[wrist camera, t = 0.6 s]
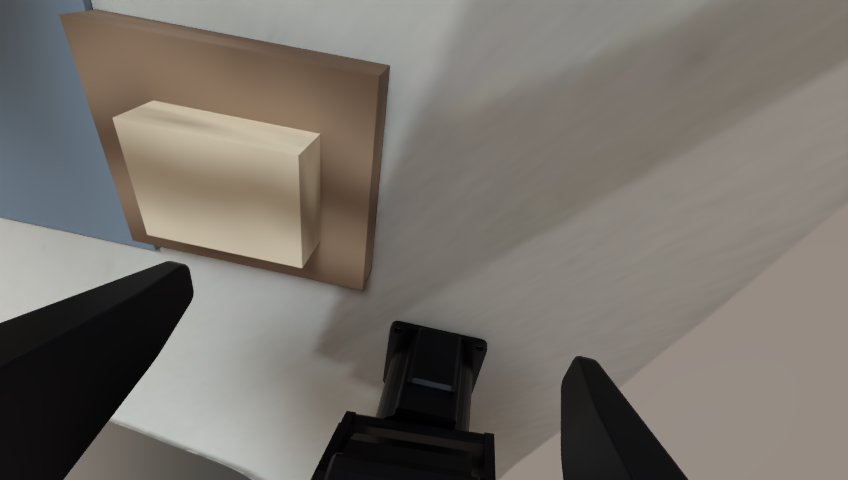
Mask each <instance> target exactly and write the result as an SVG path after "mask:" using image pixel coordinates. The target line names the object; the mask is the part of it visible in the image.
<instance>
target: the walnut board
mask: <svg viewBox="0 0 848 480" xmlns="http://www.w3.org/2000/svg"><path fill="white" fill-rule="evenodd" d="M59 16H60V19H61V22H62V25H63V28H64V31H65V35H66V38H67V41H68V44H69V47H70V50H71V53H72V56H73V59H74V62H75V65H76V68H77V71H78V74H79V77H80V80H81V84H82V87H83V90H84V93H85V96H86V99H87V102H88V105H89V108H90V111H91V114H92V117H93V120H94V123H95V126H96V129H97V132H98V136H99V139H100V142H101V145H102V148H103V151H104V154H105V157H106V160H107V163H108V166H109V169H110V172H111V175H112V178H113V181H114V185H115V188H116V191H117V194H118V197H119V200H120V203H121V206H122V209H123V212H124V215H125V218H126V221H127V224H128V227H129V230H130V234H131V237H132V240H133V241H137V242H141V243H146V244H151V245H155V246H160V247H164V248H169V249H174V250H178V251H183V252H187V253H192V254H197V255H201V256H206V257H211V258H215V259H220V260H224V261H229V262H234V263H238V264H243V265H247V266H252V267H257V268H261V269H266V270H271V271H275V272H280V273H284V274H289V275H294V276H298V277H303V278H307V279H312V280H317V281H321V282H326V283H330V284H335V285H340V286H344V287H349V288H354V289H358V290H363V288H364V285H365V283H366V281H367V278H368V276H369V273H370V271H371V267H372V256H373V245H374V234H375V223H376V212H377V201H378V190H379V179H380V168H381V157H382V146H383V135H384V124H385V113H386V102H387V91H388V80H389V68H390V66H389V65H384V64H379V63H374V62H369V61H363V60H358V59H353V58H348V57H342V56H337V55H332V54H327V53H322V52H316V51H311V50H306V49H301V48H295V47H290V46H285V45H280V44H275V43H269V42H264V41H259V40H254V39H248V38H243V37H238V36H233V35H228V34H222V33H217V32H212V31H207V30H201V29H196V28H191V27H186V26H180V25H175V24H170V23H165V22H160V21H154V20H149V19H144V18H139V17H133V16H128V15H123V14H118V13H113V12H107V11H102V10H97V9H95V10H88V11H81V12H74V13H66V14H59ZM153 100H154V101H159V102H164V103H169V104H174V105H179V106H184V107H189V108H194V109H199V110H204V111H209V112H214V113H219V114H224V115H229V116H234V117H239V118H244V119H249V120H254V121H259V122H264V123H269V124H274V125H279V126H284V127H289V128H294V129H299V130H304V131H309V132H314V133H319V134H320V241H319V243H318V244H317V246H316V248H315V249H314V251H313V252H312V254H311V255H310V257H309V259H308V260H307V262H306V263H305V265H304V266H303V268H298V267H294V266H289V265H284V264H280V263H275V262H271V261H266V260H261V259H257V258H252V257H247V256H243V255H238V254H233V253H229V252H224V251H220V250H215V249H210V248H206V247H201V246H196V245H192V244H187V243H182V242H178V241H173V240H169V239H164V238H159V237H155V236H150V235H147V232H146V229H145V226H144V222H143V219H142V216H141V212H140V209H139V205H138V202H137V199H136V195H135V192H134V189H133V185H132V182H131V179H130V175H129V172H128V169H127V165H126V162H125V159H124V155H123V152H122V149H121V145H120V142H119V138H118V135H117V132H116V128H115V125H114V122H113V117H115V116H118V115H120V114H122V113H125V112H127V111H129V110H132V109H134V108H137V107H139V106H141V105H144V104H146V103H148V102H151V101H153Z"/></svg>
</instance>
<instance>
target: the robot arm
mask: <svg viewBox="0 0 848 480" xmlns="http://www.w3.org/2000/svg"><path fill="white" fill-rule="evenodd" d="M193 293H194V291H193V285H192V280H191V275H190V270H189V268H188V266H187V265H185V264H182V263H177V262H173V261H167V262H164V263H161V264H159V265H156V266H153V267H150V268H148V269H145V270H142V271H140V272H137V273H134V274H132V275H129V276H126V277H123V278H121V279H118V280H115V281H113V282H110V283H107V284H105V285H102V286H99V287H96V288H94V289H91V290H88V291H86V292H83V293H80V294H78V295H75V296H72V297H69V298H67V299H64V300H61V301H59V302H56V303H53V304H51V305H48V306H45V307H42V308H40V309H37V310H34V311H32V312H29V313H26V314H23V315H21V316H18V317H15V318H13V319H10V320H7V321H5V322H2V323H0V480H63V479H64V478H65V477H66V476H67V474H68V473H69V472H70V470H71V469H72V468H73V466H74V465H75V464H76V462H77V461H78V460H79V459H80V457H81V456H82V455H83V453H84V452H85V451H86V449H87V448H88V447H89V445H90V444H91V443H92V442H93V440H94V439H95V438H96V436H97V435H98V434H99V432H100V431H101V430H102V428H103V427H104V426H105V424H106V423H107V422H108V421H109V419H110V418H111V417H112V415H113V414H114V413H115V411H116V410H117V409H118V408H119V406H120V405H121V404H122V402H123V401H124V400H125V398H126V397H127V396H128V394H129V393H130V392H131V391H132V389H133V388H134V387H135V385H136V384H137V383H138V381H139V380H140V379H141V378H142V376H143V375H144V374H145V372H146V371H147V370H148V368H149V367H150V366H151V364H152V363H153V362H154V360H155V359H156V357H157V356H158V354H159V353H160V351H161V350H162V348H163V347H164V345H165V344H166V342H167V340H168V339H169V337H170V335H171V334H172V332H173V330H174V329H175V327H176V326H177V324H178V322H179V321H180V319H181V317H182V316H183V314H184V312H185V311H186V309H187V308H188V306H189V304H190V303H191V301H192V298H193ZM397 328H399V329H397ZM478 346H481V347H478ZM486 352H487V342H486V341H485V340H482V339H479V338H474V337H469V336H465V335H460V334H456V333H451V332H447V331H442V330H438V329H433V328H428V327H424V326H419V325H415V324H410V323H406V322H401V321H395V322H393V323H392V325H391V328H390V335H389V342H388V349H387V356H386V363H385V370H384V378H383V382H384V383H385V385H384V388H383V392H382V396H381V399H380V403H379V407H378V410H377V414H376V417H371V416H365V415H358V414H356V412H350V411H346V413H345V415H344V417H343V419H342V421H341V423H339V424H338V426H337V428H336V430H335V432H334V434H333V436H332V438H331V440H330V442H329V444H328V446H327V448H326V450H325V452H324V454H323V456H322V458H321V460H320V462H319V464H318V466H317V468H316V470H315V472H314V474H313V476H312V478H311V480H495V449H494V434H492V433H484V434H481V433H475V432H469V421H470V407H471V394H472V392H473V389H474V386H475V383H476V380H477V377H478V375H479V372H480V369H481V366H482V363H483V360H484V358H485V355H486ZM561 460H562V470H563V480H688V478H687V477H686V476H685V475H684V474H683V472H682V471H681V469H680V468H679V467H678V465H677V464H676V463H675V462H674V460H673V459H672V458H671V456H670V455H669V454H668V453H667V451H666V450H665V449H664V448H663V446H662V445H661V444H660V442H659V441H658V440H657V438H656V437H655V436H654V434H653V433H652V432H651V431H650V429H649V428H648V427H647V425H646V424H645V423H644V421H643V420H642V419H641V418H640V416H639V415H638V414H637V412H636V411H635V410H634V409H633V407H632V406H631V405H630V403H629V402H628V401H627V399H626V398H625V397H624V396H623V394H622V393H621V392H620V390H619V389H618V388H617V386H616V385H615V384H614V383H613V381H612V380H611V379H610V377H609V376H608V375H607V374H606V372H605V371H604V370H603V368H602V367H601V366H600V364H599V363H598V362H597V361H596V360H594V359H591V358H586V357H582V356H577V357H575V358H574V360H573V361H572V363H571V365H570V367H569V369H568V371H567V372H566V374H565V376H564V378H563V381H562V385H561Z"/></svg>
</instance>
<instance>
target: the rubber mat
mask: <svg viewBox="0 0 848 480" xmlns="http://www.w3.org/2000/svg"><path fill="white" fill-rule="evenodd" d="M88 10H92V6H91V2H90V0H0V217H2V218H7V219H11V220H16V221H21V222H25V223H30V224H34V225H39V226H44V227H48V228H53V229H57V230H62V231H67V232H71V233H76V234H80V235H85V236H90V237H94V238H99V239H103V240H108V241H113V242H117V243H122V244H126V245H131V246H136V247H140V248H145V249H149V250H154V251H156V250H157V249H158V248H160V246H155V245H151V244H146V243H141V242H137V241H133V240H132V237H131V234H130V230H129V227H128V224H127V221H126V218H125V215H124V212H123V209H122V206H121V203H120V200H119V197H118V194H117V191H116V188H115V185H114V181H113V178H112V175H111V172H110V169H109V166H108V163H107V160H106V157H105V154H104V151H103V148H102V145H101V142H100V139H99V136H98V132H97V129H96V126H95V123H94V120H93V117H92V114H91V111H90V108H89V105H88V102H87V99H86V96H85V93H84V90H83V87H82V84H81V80H80V77H79V74H78V71H77V68H76V65H75V62H74V59H73V56H72V53H71V50H70V47H69V44H68V41H67V38H66V35H65V31H64V28H63V25H62V22H61V19H60V16H59V14H66V13H74V12H81V11H88Z"/></svg>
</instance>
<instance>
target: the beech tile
mask: <svg viewBox="0 0 848 480" xmlns="http://www.w3.org/2000/svg"><path fill="white" fill-rule="evenodd" d="M113 122H114V125H115V128H116V132H117V135H118V138H119V142H120V145H121V149H122V152H123V155H124V159H125V162H126V165H127V169H128V172H129V175H130V179H131V182H132V185H133V189H134V192H135V195H136V199H137V202H138V205H139V209H140V212H141V216H142V219H143V222H144V226H145V229H146V232H147V235H150V236H155V237H159V238H164V239H169V240H173V241H178V242H182V243H187V244H192V245H196V246H201V247H206V248H210V249H215V250H220V251H224V252H229V253H233V254H238V255H243V256H247V257H252V258H257V259H261V260H266V261H271V262H275V263H280V264H284V265H289V266H294V267H298V268H303V266H304V265H305V263H306V262H307V260H308V259H309V257H310V255H311V254H312V252H313V251H314V249H315V248H316V246H317V244H318V243H319V241H320V134H319V133H314V132H309V131H304V130H299V129H294V128H289V127H284V126H279V125H274V124H269V123H264V122H259V121H254V120H249V119H244V118H239V117H234V116H229V115H224V114H219V113H214V112H209V111H204V110H199V109H194V108H189V107H184V106H179V105H174V104H169V103H164V102H159V101H154V100H153V101H151V102H148V103H146V104H144V105H141V106H139V107H137V108H134V109H132V110H129V111H127V112H125V113H122V114H120V115H118V116H115V117H113Z"/></svg>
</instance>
